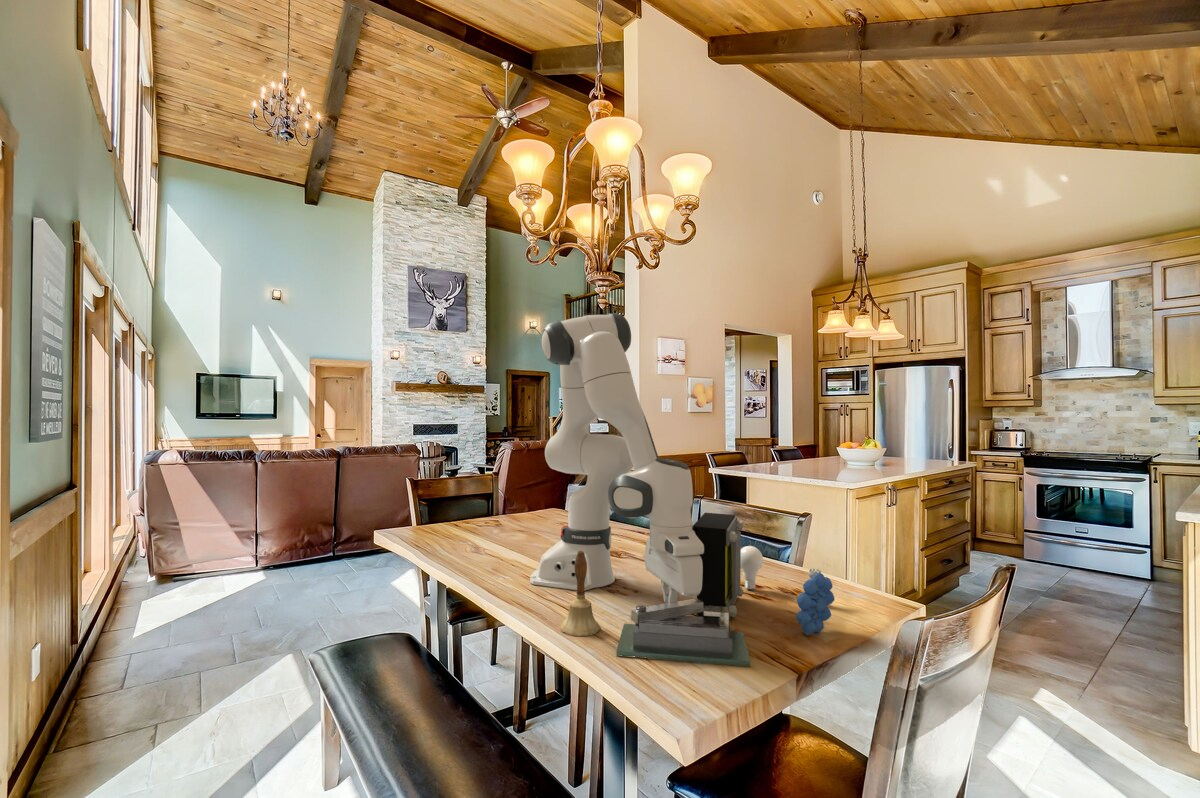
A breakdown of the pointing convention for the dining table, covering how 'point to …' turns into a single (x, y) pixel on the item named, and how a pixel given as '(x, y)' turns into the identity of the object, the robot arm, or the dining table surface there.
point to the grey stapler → (686, 639)
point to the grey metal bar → (666, 610)
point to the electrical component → (720, 560)
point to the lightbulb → (750, 565)
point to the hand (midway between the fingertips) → (670, 604)
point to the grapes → (815, 603)
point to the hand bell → (580, 605)
